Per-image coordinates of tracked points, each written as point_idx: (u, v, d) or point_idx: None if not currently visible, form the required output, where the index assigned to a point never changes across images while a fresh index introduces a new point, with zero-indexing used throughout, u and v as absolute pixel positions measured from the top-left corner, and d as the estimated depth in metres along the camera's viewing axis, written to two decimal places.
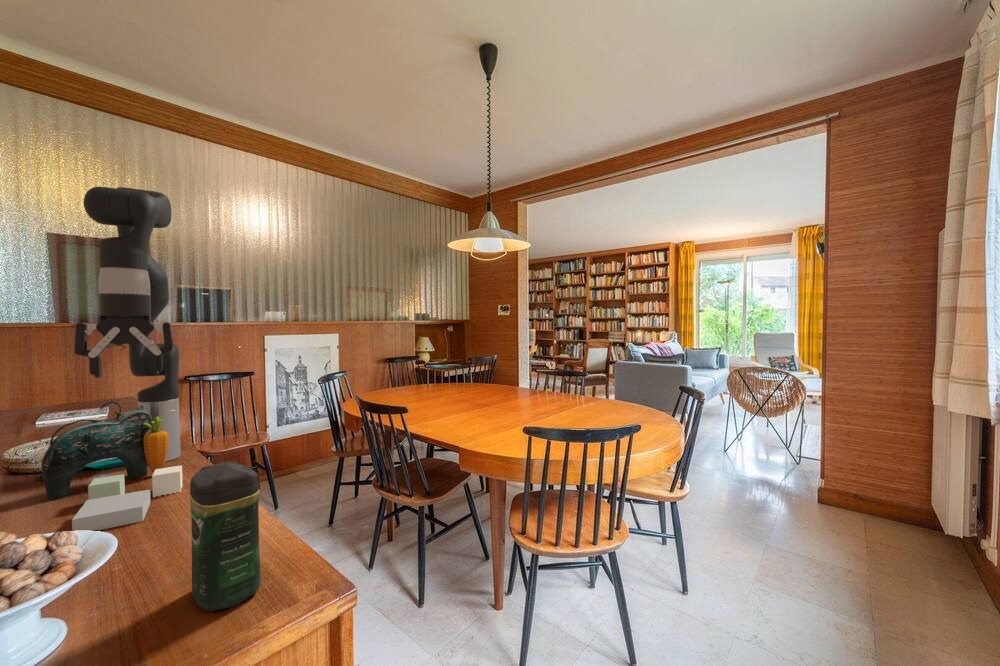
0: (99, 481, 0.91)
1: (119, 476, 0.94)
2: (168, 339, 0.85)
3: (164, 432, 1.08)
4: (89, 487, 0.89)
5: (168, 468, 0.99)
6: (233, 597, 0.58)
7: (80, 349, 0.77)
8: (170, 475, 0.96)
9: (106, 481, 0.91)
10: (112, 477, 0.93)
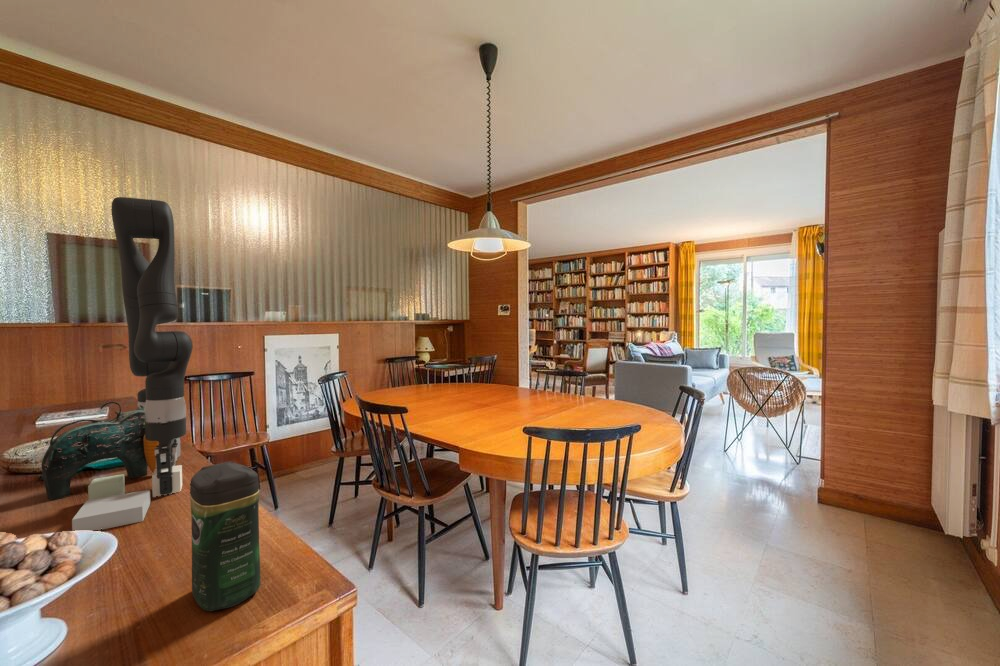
0: (99, 481, 0.91)
1: (119, 476, 0.94)
2: None
3: None
4: (89, 487, 0.89)
5: None
6: (233, 597, 0.58)
7: (171, 471, 0.94)
8: None
9: (106, 481, 0.91)
10: (112, 477, 0.93)
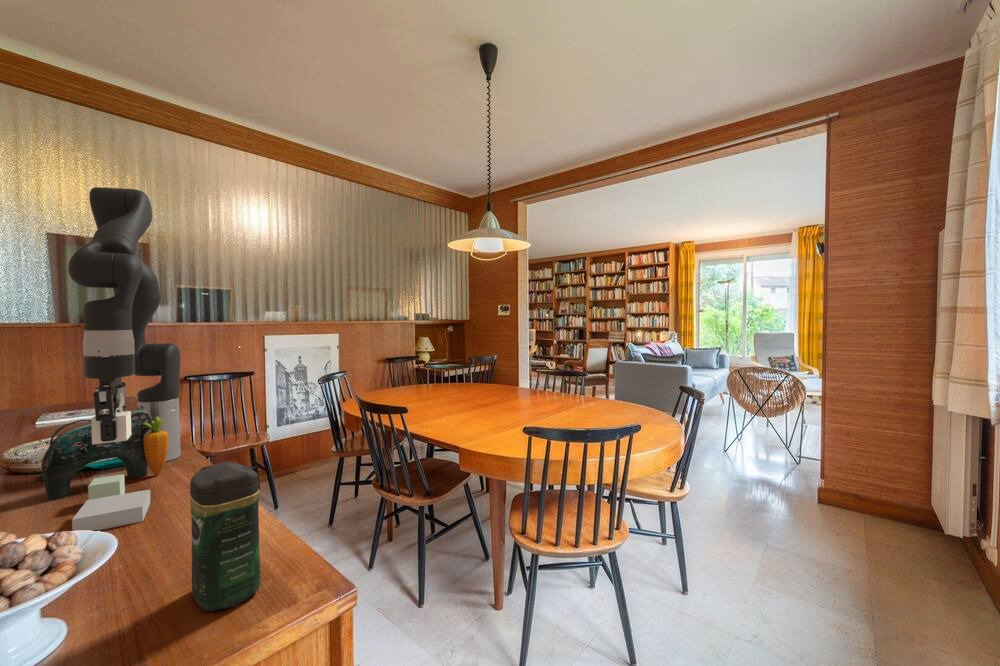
0: (99, 481, 0.91)
1: (119, 476, 0.94)
2: None
3: (164, 432, 1.08)
4: (89, 487, 0.89)
5: None
6: (233, 597, 0.58)
7: (114, 414, 0.81)
8: None
9: (106, 481, 0.91)
10: (112, 477, 0.93)
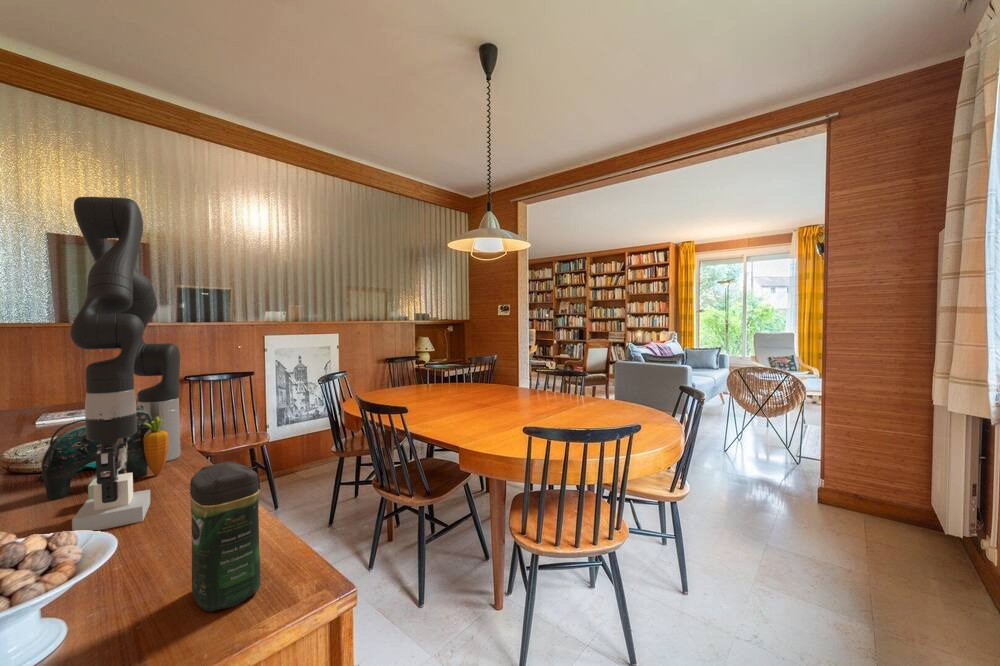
0: None
1: None
2: None
3: (164, 432, 1.08)
4: (89, 487, 0.89)
5: None
6: (233, 597, 0.58)
7: (115, 476, 0.80)
8: None
9: None
10: None
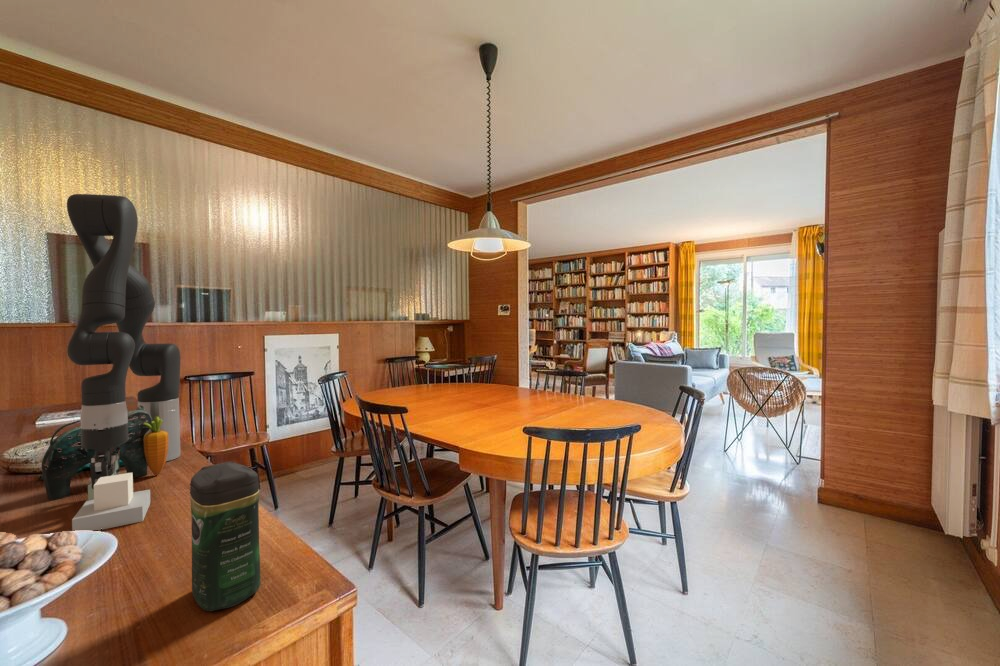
0: None
1: None
2: None
3: (164, 432, 1.08)
4: (89, 487, 0.89)
5: (115, 476, 0.86)
6: (233, 597, 0.58)
7: None
8: (115, 484, 0.83)
9: None
10: None
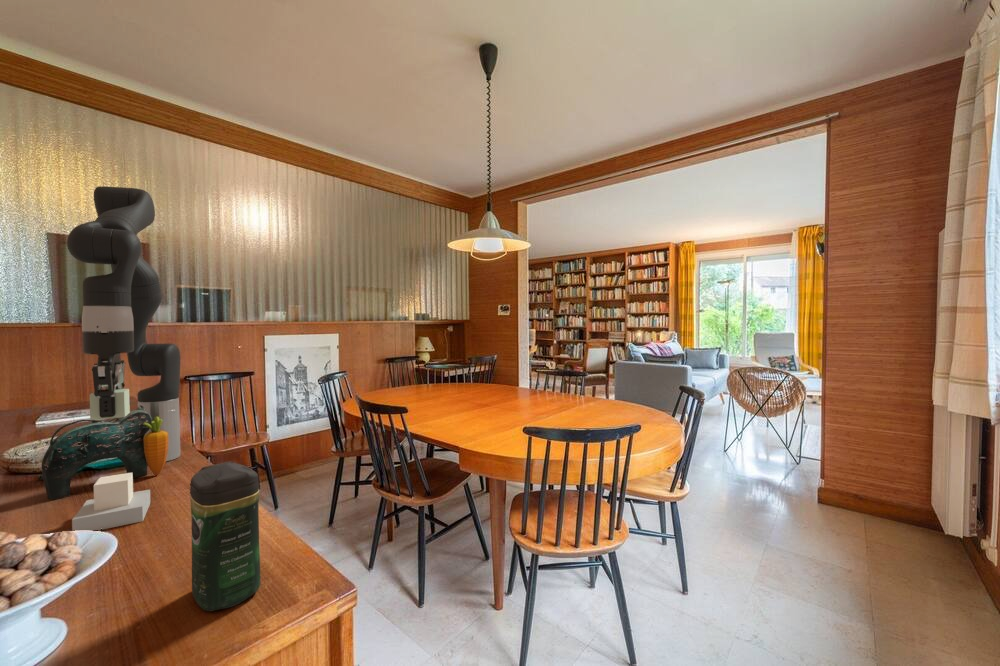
0: None
1: (123, 389, 0.86)
2: None
3: (164, 432, 1.08)
4: (91, 396, 0.80)
5: (115, 476, 0.86)
6: (233, 597, 0.58)
7: (113, 389, 0.80)
8: (115, 484, 0.83)
9: None
10: (116, 390, 0.85)
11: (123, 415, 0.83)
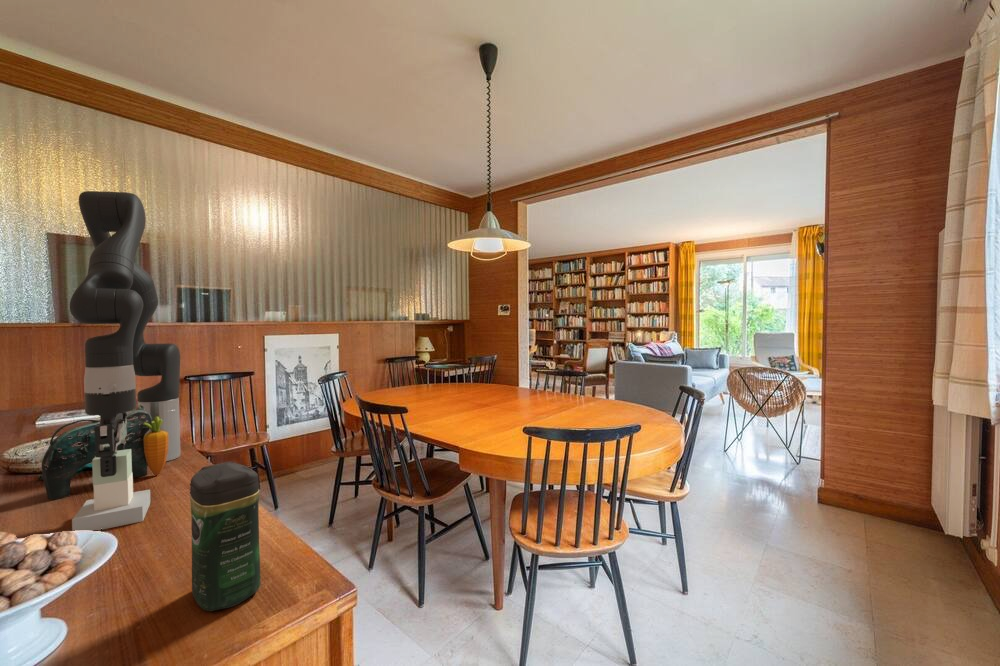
0: None
1: (126, 451, 0.86)
2: (126, 428, 0.90)
3: (164, 432, 1.08)
4: (93, 461, 0.81)
5: None
6: (233, 597, 0.58)
7: (114, 449, 0.80)
8: (115, 484, 0.83)
9: None
10: (118, 452, 0.86)
11: (125, 478, 0.83)
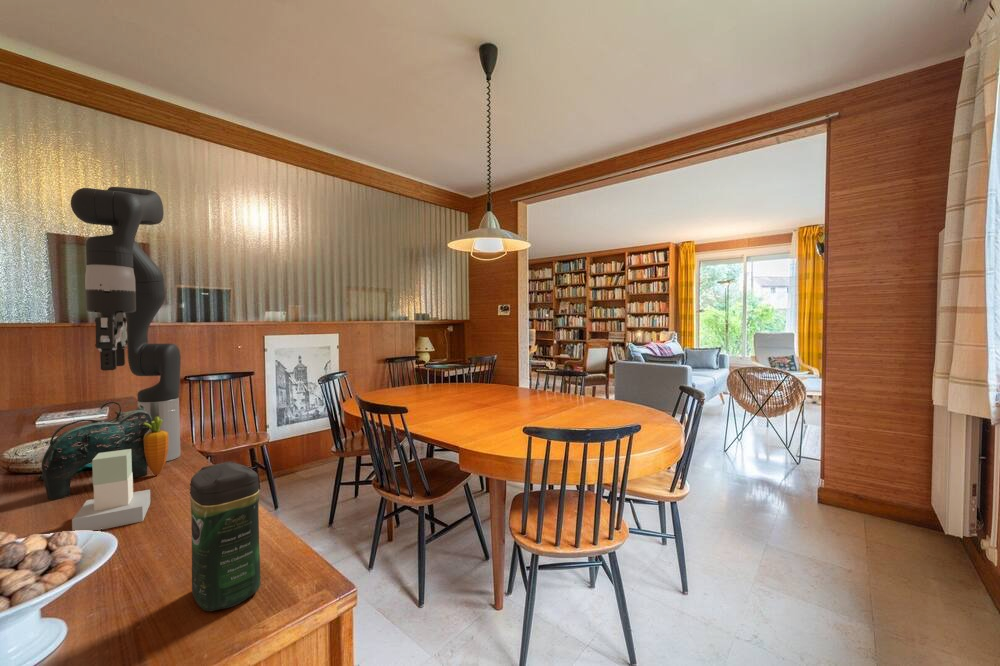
0: (104, 455, 0.83)
1: (126, 451, 0.86)
2: None
3: (164, 432, 1.08)
4: (93, 461, 0.81)
5: None
6: (233, 597, 0.58)
7: (113, 342, 0.81)
8: (115, 484, 0.83)
9: (112, 455, 0.83)
10: (118, 452, 0.86)
11: (125, 478, 0.83)
